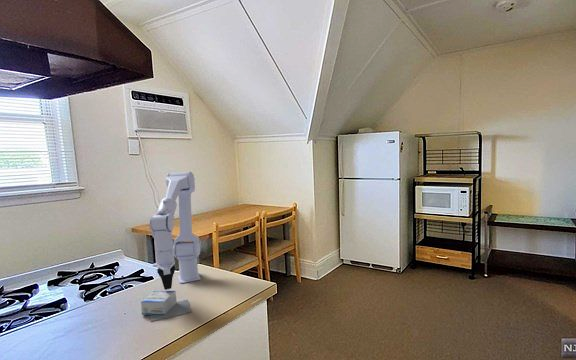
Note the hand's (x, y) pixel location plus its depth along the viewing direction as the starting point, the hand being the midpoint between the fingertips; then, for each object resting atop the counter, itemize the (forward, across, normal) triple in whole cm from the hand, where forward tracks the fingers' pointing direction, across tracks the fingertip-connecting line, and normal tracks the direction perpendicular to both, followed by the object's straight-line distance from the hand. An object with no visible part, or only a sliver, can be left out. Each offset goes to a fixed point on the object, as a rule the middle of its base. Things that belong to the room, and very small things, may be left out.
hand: (167, 288), depth 112 cm
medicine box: (+3, -1, -1) cm, 3 cm away
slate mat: (+6, +5, 0) cm, 8 cm away
